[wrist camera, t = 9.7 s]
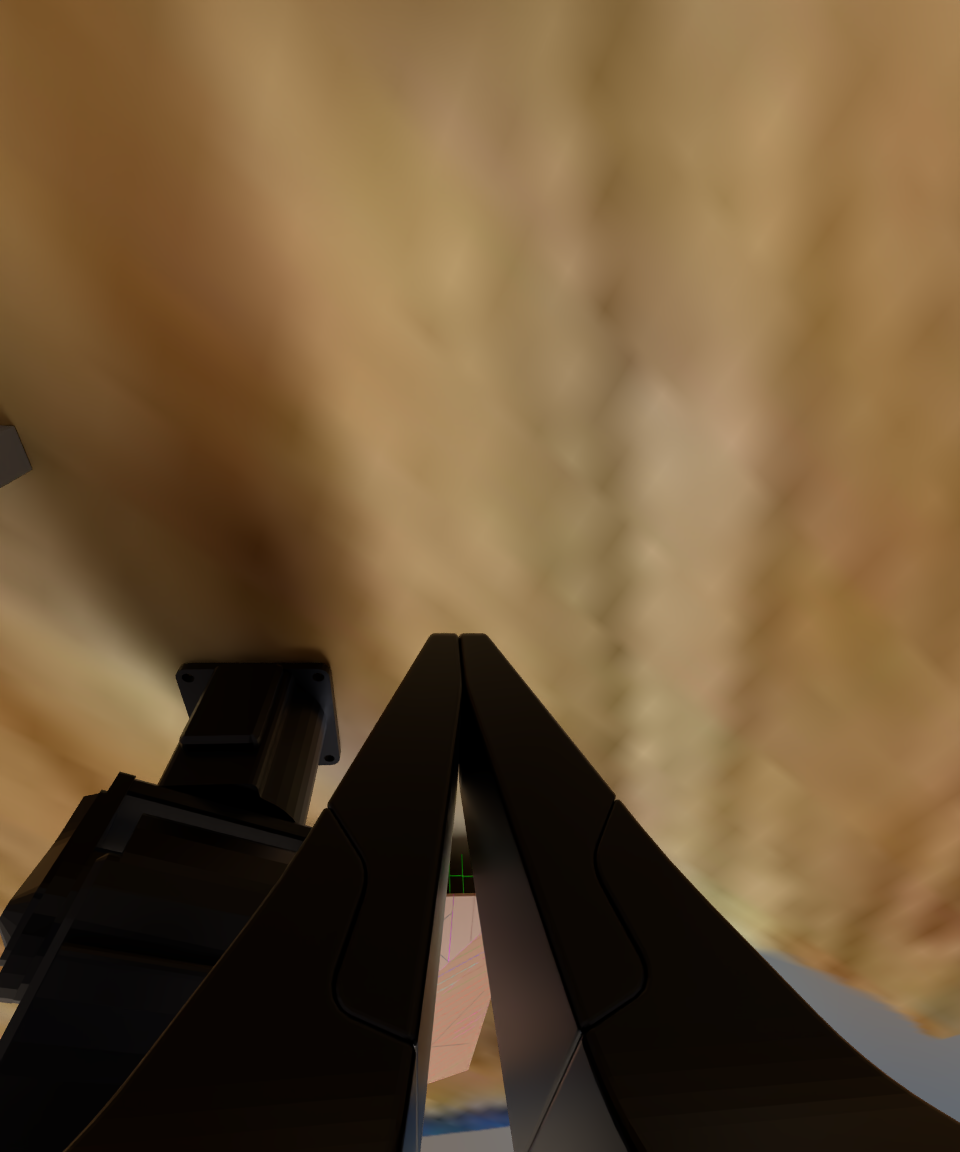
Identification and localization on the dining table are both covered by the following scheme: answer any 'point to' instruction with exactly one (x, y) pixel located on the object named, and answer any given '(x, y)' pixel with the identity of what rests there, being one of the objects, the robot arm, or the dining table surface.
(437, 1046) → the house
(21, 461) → the corral
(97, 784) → the dining table surface
